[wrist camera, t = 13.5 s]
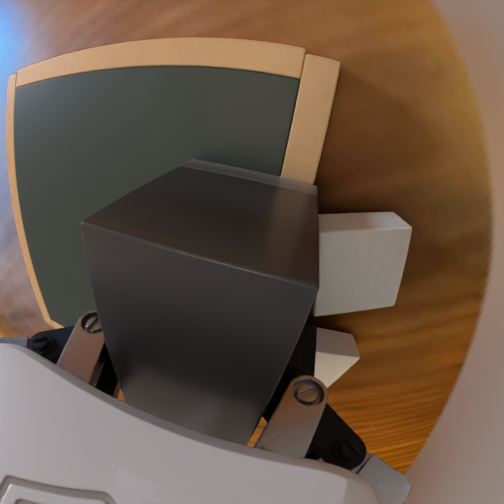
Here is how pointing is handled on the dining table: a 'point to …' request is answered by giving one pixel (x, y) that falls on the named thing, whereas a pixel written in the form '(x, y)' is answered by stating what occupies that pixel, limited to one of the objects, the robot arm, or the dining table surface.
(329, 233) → the chalk lump
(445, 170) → the dining table surface
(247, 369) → the eraser
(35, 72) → the chalkboard
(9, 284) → the dining table surface
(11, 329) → the dining table surface
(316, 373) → the chalk lump
